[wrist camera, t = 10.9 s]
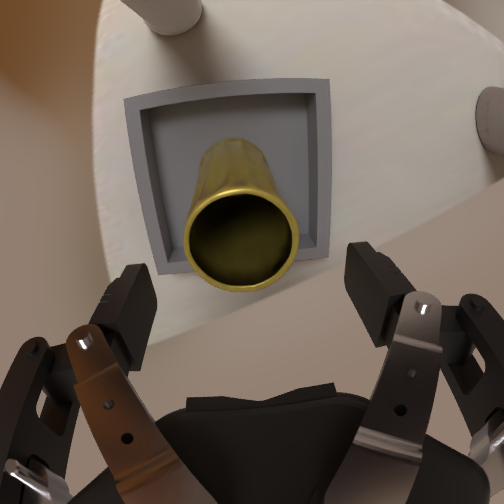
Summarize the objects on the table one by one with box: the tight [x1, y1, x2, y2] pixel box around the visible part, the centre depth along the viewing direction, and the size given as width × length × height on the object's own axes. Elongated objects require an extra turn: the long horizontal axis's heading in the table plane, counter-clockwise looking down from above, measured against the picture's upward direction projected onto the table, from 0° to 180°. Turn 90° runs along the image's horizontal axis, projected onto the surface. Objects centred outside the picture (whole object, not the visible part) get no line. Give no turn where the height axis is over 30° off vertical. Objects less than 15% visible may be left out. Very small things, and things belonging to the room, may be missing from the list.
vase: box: [183, 138, 300, 292], centre depth 19 cm, size 6×6×14 cm
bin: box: [124, 78, 332, 275], centre depth 24 cm, size 16×16×4 cm
